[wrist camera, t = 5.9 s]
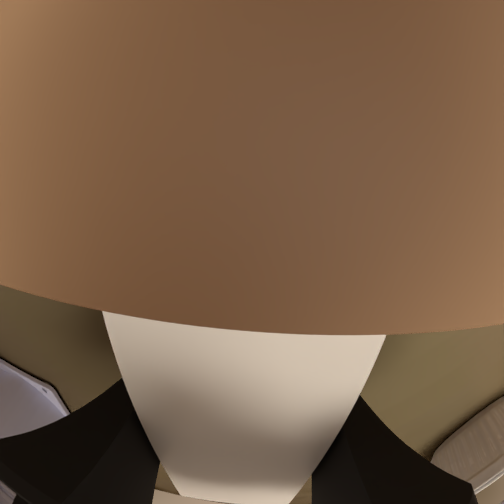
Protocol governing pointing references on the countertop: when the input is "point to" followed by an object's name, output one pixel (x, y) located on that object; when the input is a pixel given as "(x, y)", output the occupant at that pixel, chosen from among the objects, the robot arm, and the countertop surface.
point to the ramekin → (476, 448)
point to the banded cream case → (239, 402)
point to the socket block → (257, 161)
